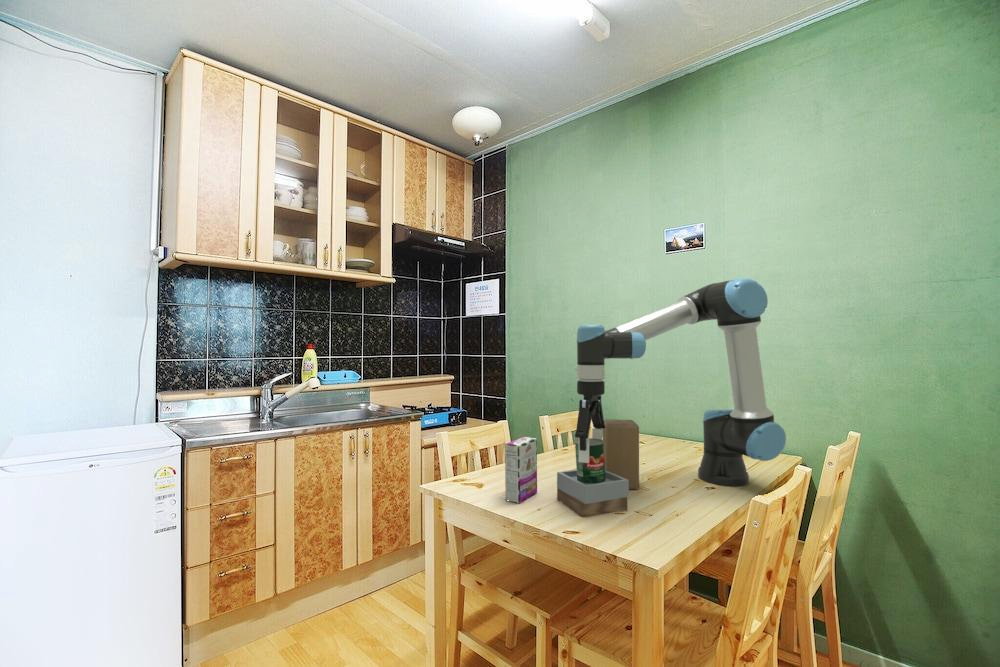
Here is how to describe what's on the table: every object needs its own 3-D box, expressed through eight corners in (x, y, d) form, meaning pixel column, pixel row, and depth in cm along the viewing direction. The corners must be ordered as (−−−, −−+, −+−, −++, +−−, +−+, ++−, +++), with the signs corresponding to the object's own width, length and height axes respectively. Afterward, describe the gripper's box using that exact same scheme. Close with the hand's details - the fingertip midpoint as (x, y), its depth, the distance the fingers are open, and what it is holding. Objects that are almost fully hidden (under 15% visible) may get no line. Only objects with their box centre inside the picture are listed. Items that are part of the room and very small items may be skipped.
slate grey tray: (597, 481, 136) (597, 466, 136) (628, 496, 123) (628, 480, 123) (557, 487, 130) (557, 472, 130) (585, 504, 118) (585, 486, 118)
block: (633, 480, 149) (633, 419, 149) (639, 490, 139) (639, 424, 139) (602, 479, 150) (602, 418, 150) (606, 489, 140) (606, 424, 140)
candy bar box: (523, 490, 139) (523, 436, 139) (537, 493, 136) (537, 438, 137) (503, 500, 129) (504, 443, 130) (519, 504, 127) (519, 445, 127)
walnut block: (599, 495, 136) (599, 482, 136) (627, 512, 123) (627, 497, 123) (557, 500, 131) (557, 486, 131) (581, 518, 118) (581, 503, 118)
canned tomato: (587, 474, 132) (585, 436, 132) (611, 479, 127) (609, 440, 127) (571, 481, 127) (569, 442, 127) (595, 487, 121) (592, 445, 121)
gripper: (589, 376, 140) (589, 445, 139) (563, 383, 118) (563, 465, 117) (614, 377, 136) (614, 448, 136) (591, 384, 114) (592, 469, 114)
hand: (590, 456), depth 127 cm, fingers open, 13 cm apart
